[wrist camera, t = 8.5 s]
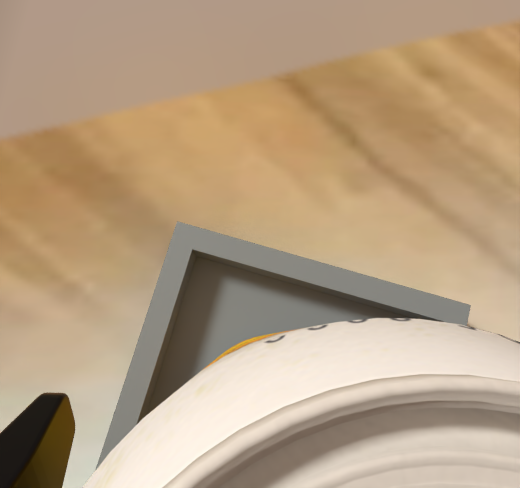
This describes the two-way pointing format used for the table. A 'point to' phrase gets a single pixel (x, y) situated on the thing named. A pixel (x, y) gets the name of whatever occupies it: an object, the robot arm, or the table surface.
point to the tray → (245, 311)
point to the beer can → (337, 413)
